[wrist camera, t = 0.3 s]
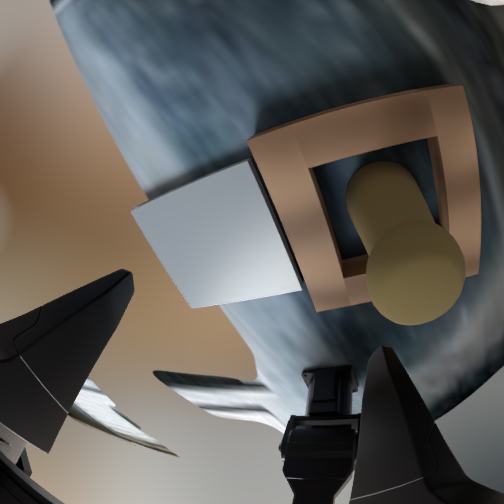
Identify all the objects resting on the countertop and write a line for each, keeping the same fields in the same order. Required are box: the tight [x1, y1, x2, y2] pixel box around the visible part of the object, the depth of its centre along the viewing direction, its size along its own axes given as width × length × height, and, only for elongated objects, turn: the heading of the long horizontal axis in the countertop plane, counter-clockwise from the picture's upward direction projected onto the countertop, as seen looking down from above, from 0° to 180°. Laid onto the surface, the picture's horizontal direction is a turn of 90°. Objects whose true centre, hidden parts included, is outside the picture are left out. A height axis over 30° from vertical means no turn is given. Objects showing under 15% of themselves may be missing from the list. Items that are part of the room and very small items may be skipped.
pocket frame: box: [247, 84, 481, 312], centre depth 18 cm, size 15×15×2 cm
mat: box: [131, 158, 303, 309], centre depth 24 cm, size 12×12×1 cm
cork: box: [345, 161, 466, 325], centre depth 15 cm, size 6×6×11 cm
